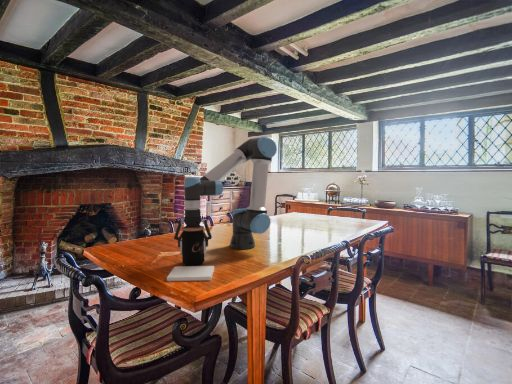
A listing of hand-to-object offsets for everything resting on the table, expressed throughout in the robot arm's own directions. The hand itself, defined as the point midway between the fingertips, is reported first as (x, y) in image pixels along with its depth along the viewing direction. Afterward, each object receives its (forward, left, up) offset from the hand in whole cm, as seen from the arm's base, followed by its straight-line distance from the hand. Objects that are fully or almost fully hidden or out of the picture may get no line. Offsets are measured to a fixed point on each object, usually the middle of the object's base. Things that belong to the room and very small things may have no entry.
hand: (193, 253), depth 142 cm
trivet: (-2, +16, -5) cm, 17 cm away
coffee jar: (0, 0, -5) cm, 5 cm away
